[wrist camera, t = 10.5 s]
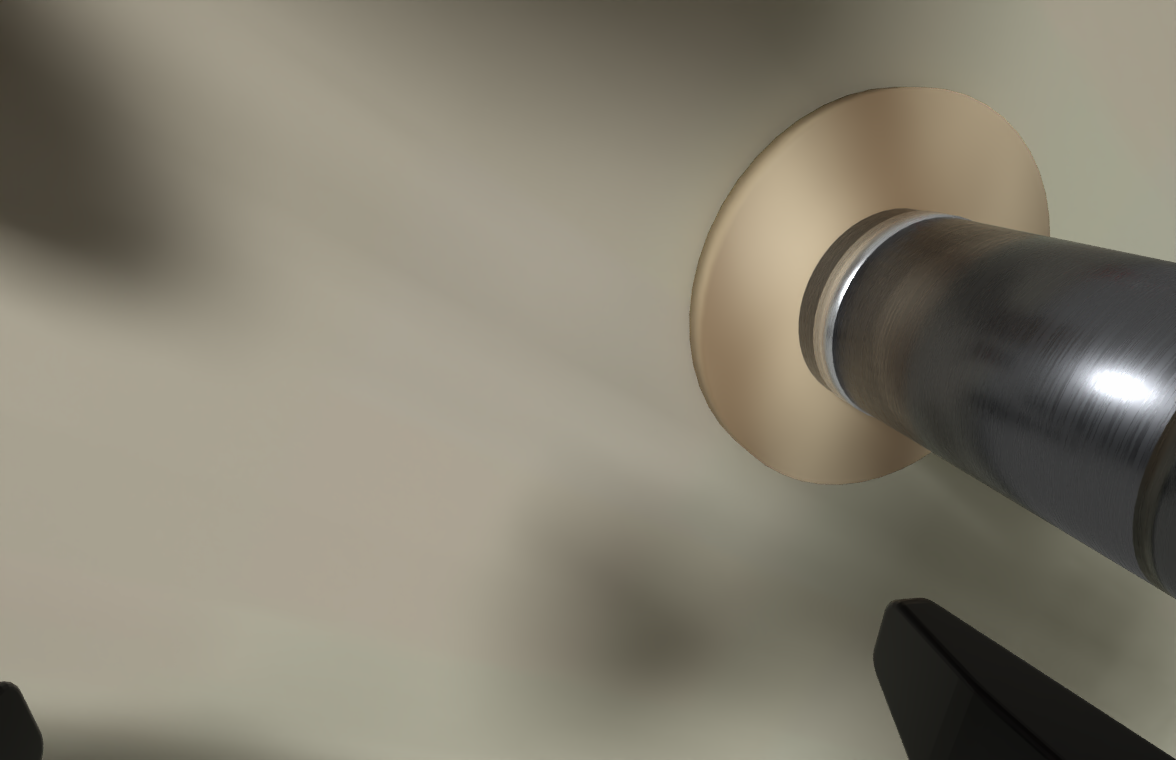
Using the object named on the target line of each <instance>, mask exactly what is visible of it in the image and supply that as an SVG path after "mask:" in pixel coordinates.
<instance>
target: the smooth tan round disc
mask: <svg viewBox="0 0 1176 760" xmlns="http://www.w3.org/2000/svg"><path fill="white" fill-rule="evenodd" d="M897 208H908V209H916V210H921V211H934V212H940V213H945V214H950V215H955V216H960V217H963V218H966V219H969V220H972V221H975V222H979V223H984V224H989V225H994V226H999V227H1004V228H1009V229H1014V230H1018V231H1023V232H1028V233H1033V234H1038V235H1043V236H1048V237H1050V226H1049V212H1048V205H1047V199H1046V193H1045V189H1044V186H1043V182H1042V179H1041V175H1040V172H1039V170H1038V167H1037V165H1036V163H1035V161H1034V159H1033V156H1032V154H1031V152H1030V150H1029V149H1028V147H1027V146H1026V144H1025V143H1024V141H1023V140H1022V138H1021V136H1020V135H1019V133H1018V132H1017V131H1016V130H1015V129H1014V128H1013V127H1012V126H1011V125H1010V124H1009V123H1008V122H1007V121H1006V119H1005V118H1004V117H1002V116H1001V115H1000V114H998V113H997V112H996V111H994V110H993V109H992V108H990V107H989V106H988V105H986V104H984V103H982V102H980V101H978V100H976V99H974V98H972V97H970V96H968V95H965V94H961V93H958V92H954V91H950V90H946V89H938V88H926V87H891V88H880V89H871V90H867V91H863V92H859V93H855V94H851V95H847V96H845V97H842V98H840V99H838V100H835V101H833V102H830V103H828V104H826V105H823V106H822V107H820V108H818V109H816V110H815V111H813V112H811V113H810V114H808V115H806V116H804V117H803V118H801V119H799V120H798V121H797V122H796V123H794V124H793V125H792V126H790V127H789V128H788V129H786V130H785V131H784V132H783V133H781V134H780V135H779V136H777V137H776V138H775V139H774V140H773V141H772V142H771V143H770V144H769V145H768V146H767V147H766V148H765V149H764V150H763V151H762V152H761V153H760V154H759V155H758V156H757V157H756V158H755V159H754V161H753V162H752V163H751V164H750V166H749V167H748V168H747V169H746V171H745V172H744V173H743V174H742V176H741V177H740V178H739V179H738V181H737V182H736V184H735V185H734V187H733V189H732V190H731V192H730V193H729V195H728V196H727V198H726V200H725V201H724V203H723V204H722V206H721V208H720V210H719V212H718V214H717V216H716V218H715V220H714V222H713V225H712V227H711V229H710V231H709V233H708V236H707V238H706V241H705V244H704V247H703V250H702V252H701V255H700V258H699V261H698V266H697V270H696V274H695V279H694V283H693V287H692V296H691V305H690V314H689V315H690V345H691V352H692V359H693V365H694V369H695V372H696V376H697V379H698V383H699V386H700V389H701V391H702V393H703V395H704V397H705V400H706V402H707V404H708V406H709V408H710V409H711V411H712V413H713V414H714V416H715V417H716V419H717V420H718V422H719V423H720V425H721V426H722V427H723V428H724V429H725V430H726V431H727V432H728V433H729V434H730V436H731V437H732V438H733V439H734V440H735V441H737V442H738V443H739V444H740V445H741V446H742V447H743V448H745V449H746V450H747V451H748V452H749V453H750V454H752V455H753V456H754V457H756V458H757V459H758V460H759V461H761V462H762V463H763V464H765V465H766V466H768V467H770V468H772V469H773V470H775V471H777V472H779V473H781V474H783V475H785V476H788V477H791V478H794V479H797V480H800V481H805V482H811V483H817V484H839V485H841V484H849V483H857V482H863V481H867V480H871V479H875V478H879V477H882V476H885V475H887V474H890V473H893V472H895V471H898V470H900V469H902V468H904V467H906V466H908V465H910V464H912V463H914V462H916V461H918V460H920V459H922V458H923V457H925V456H926V455H928V454H929V453H931V451H929V450H928V449H926V448H924V447H923V446H921V445H919V444H918V443H916V442H914V441H913V440H911V439H909V438H908V437H906V436H904V435H903V434H901V433H899V432H898V431H896V430H894V429H893V428H891V427H890V426H888V425H886V424H885V423H883V422H881V421H880V420H878V419H876V418H875V417H872V416H869V415H867V414H865V413H863V412H861V411H860V410H858V409H856V408H855V407H853V406H851V405H850V404H848V403H846V402H845V401H843V400H841V399H840V398H839V397H838V396H837V395H835V394H834V393H833V392H831V391H830V390H828V389H826V388H825V387H824V386H823V385H822V384H820V383H819V382H818V381H817V380H816V378H815V377H814V376H813V375H812V374H811V372H810V370H809V369H808V367H807V365H806V363H805V360H804V358H803V355H802V352H801V348H800V342H799V334H798V327H799V314H800V307H801V303H802V299H803V295H804V292H805V289H806V286H807V284H808V281H809V279H810V277H811V275H812V273H813V271H814V269H815V267H816V266H817V264H818V262H819V261H820V259H821V257H822V256H823V255H824V254H825V252H826V251H827V250H828V248H829V247H830V246H831V245H832V244H833V243H834V242H835V241H836V240H837V239H838V237H839V236H841V235H842V234H843V233H844V232H845V231H847V230H848V229H849V228H850V227H852V226H853V225H855V224H856V223H858V222H859V221H861V220H863V219H865V218H867V217H869V216H871V215H873V214H876V213H879V212H882V211H885V210H890V209H897Z"/></svg>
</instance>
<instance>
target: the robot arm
mask: <svg viewBox="0 0 1176 760" xmlns="http://www.w3.org/2000/svg"><path fill="white" fill-rule="evenodd" d="M873 661H874V667H875V672H876V675H877V678H878V680H879V683H880V685H881V688H882V691H883V693H884V696H885V699H886V701H887V704H888V706H889V709H890V712H891V714H892V717H893V719H894V722H895V725H896V727H897V730H898V733H899V735H900V738H901V740H902V743H903V746H904V748H905V751H906V754H907V756H908V759H909V760H1176V759H1174V758H1173V757H1171V756H1170V755H1168V754H1167V753H1165V752H1164V751H1162V750H1161V749H1159V748H1157V747H1156V746H1154V745H1153V744H1151V743H1150V742H1148V741H1147V740H1145V739H1144V738H1142V737H1141V736H1139V735H1137V734H1136V733H1134V732H1133V731H1131V730H1130V729H1128V728H1127V727H1125V726H1124V725H1122V724H1121V723H1119V722H1117V721H1116V720H1114V719H1113V718H1111V717H1110V716H1108V715H1107V714H1105V713H1104V712H1102V711H1101V710H1099V709H1097V708H1096V707H1094V706H1093V705H1091V704H1090V703H1088V702H1087V701H1085V700H1084V699H1082V698H1081V697H1079V696H1077V695H1076V694H1074V693H1073V692H1071V691H1070V690H1068V689H1067V688H1065V687H1064V686H1062V685H1061V684H1059V683H1057V682H1056V681H1054V680H1053V679H1051V678H1050V677H1048V676H1047V675H1045V674H1044V673H1042V672H1041V671H1039V670H1037V669H1036V668H1034V667H1033V666H1031V665H1030V664H1028V663H1027V662H1025V661H1024V660H1022V659H1020V658H1019V657H1017V656H1016V655H1014V654H1013V653H1011V652H1010V651H1008V650H1007V649H1005V648H1004V647H1002V646H1000V645H999V644H997V643H996V642H994V641H993V640H991V639H990V638H988V637H987V636H985V635H984V634H982V633H980V632H979V631H977V630H976V629H974V628H973V627H971V626H970V625H968V624H967V623H965V622H964V621H962V620H960V619H959V618H957V617H956V616H954V615H953V614H951V613H950V612H948V611H947V610H945V609H944V608H942V607H940V606H939V605H937V604H936V603H934V602H932V601H931V600H928V599H925V598H912V599H901V600H894V601H891V602H890V603H889V604H888V605H887V607H886V609H885V612H884V616H883V619H882V623H881V626H880V630H879V634H878V637H877V641H876V644H875V648H874V653H873ZM42 754H43V739H42V734H41V732H40V730H39V728H38V726H37V723H36V721H35V719H34V717H33V715H32V713H31V711H30V709H29V707H28V705H27V703H26V701H25V699H24V697H23V695H22V693H21V691H20V689H19V688H18V687H17V686H16V685H14V684H13V683H11V682H6V681H3V682H0V760H41V759H42Z"/></svg>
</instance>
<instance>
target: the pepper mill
mask: <svg viewBox="0 0 1176 760" xmlns="http://www.w3.org/2000/svg"><path fill="white" fill-rule="evenodd" d="M798 334H799V342H800V348H801V352H802V355H803V358H804V360H805V363H806V365H807V367H808V369H809V370H810V372H811V374H812V375H813V376H814V377H815V378H816V380H817V381H818V382H819V383H820V384H822V385H823V386H824V387H825V388H826V389H828V390H830V391H831V392H833V393H834V394H835V395H837V396H838V397H839V398H840V399H841V400H843V401H845V402H846V403H848V404H850V405H851V406H853V407H855V408H856V409H858V410H860V411H861V412H863V413H865V414H867V415H869V416H872V417H875V418H876V419H878V420H880V421H881V422H883V423H885V424H886V425H888V426H890V427H891V428H893V429H894V430H896V431H898V432H899V433H901V434H903V435H904V436H906V437H908V438H909V439H911V440H913V441H914V442H916V443H918V444H919V445H921V446H923V447H924V448H926V449H928V450H929V451H931V452H933V453H934V454H936V455H938V456H939V457H941V458H943V459H944V460H946V461H948V462H949V463H951V464H953V465H954V466H956V467H958V468H959V469H961V470H963V471H964V472H966V473H967V474H969V475H971V476H972V477H974V478H976V479H977V480H979V481H981V482H982V483H984V484H986V485H987V486H989V487H991V488H992V489H994V490H996V491H997V492H999V493H1001V494H1002V495H1004V496H1006V497H1007V498H1009V499H1011V500H1012V501H1014V502H1016V503H1017V504H1019V505H1021V506H1022V507H1024V508H1026V509H1027V510H1029V511H1031V512H1032V513H1034V514H1036V515H1037V516H1039V517H1041V518H1042V519H1044V520H1045V521H1047V522H1049V523H1050V524H1052V525H1054V526H1055V527H1057V528H1059V529H1060V530H1062V531H1064V532H1065V533H1067V534H1069V535H1070V536H1072V537H1074V538H1075V539H1077V540H1079V541H1080V542H1082V543H1084V544H1085V545H1087V546H1089V547H1090V548H1092V549H1094V550H1095V551H1097V552H1099V553H1100V554H1102V555H1104V556H1105V557H1107V558H1109V559H1110V560H1112V561H1114V562H1115V563H1117V564H1118V565H1120V566H1122V567H1123V568H1125V569H1127V570H1128V571H1130V572H1132V573H1133V574H1135V575H1137V576H1138V577H1140V578H1142V579H1143V580H1145V581H1147V582H1148V583H1150V584H1152V585H1153V586H1155V587H1157V588H1158V589H1160V590H1162V591H1163V592H1165V593H1167V594H1168V595H1170V596H1172V597H1173V598H1175V599H1176V263H1174V262H1169V261H1165V260H1160V259H1155V258H1150V257H1145V256H1140V255H1135V254H1130V253H1126V252H1121V251H1116V250H1111V249H1106V248H1101V247H1096V246H1091V245H1087V244H1082V243H1077V242H1072V241H1067V240H1062V239H1057V238H1052V237H1048V236H1043V235H1038V234H1033V233H1028V232H1023V231H1018V230H1014V229H1009V228H1004V227H999V226H994V225H989V224H984V223H979V222H975V221H972V220H969V219H966V218H963V217H960V216H955V215H950V214H945V213H940V212H934V211H921V210H916V209H908V208H897V209H890V210H885V211H882V212H879V213H876V214H873V215H871V216H869V217H867V218H865V219H863V220H861V221H859V222H858V223H856V224H855V225H853V226H852V227H850V228H849V229H848V230H847V231H845V232H844V233H843V234H842V235H841V236H839V237H838V239H837V240H836V241H835V242H834V243H833V244H832V245H831V246H830V247H829V248H828V250H827V251H826V252H825V254H824V255H823V256H822V257H821V259H820V261H819V262H818V264H817V266H816V267H815V269H814V271H813V273H812V275H811V277H810V279H809V281H808V284H807V286H806V289H805V292H804V295H803V299H802V303H801V307H800V314H799V327H798Z"/></svg>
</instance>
